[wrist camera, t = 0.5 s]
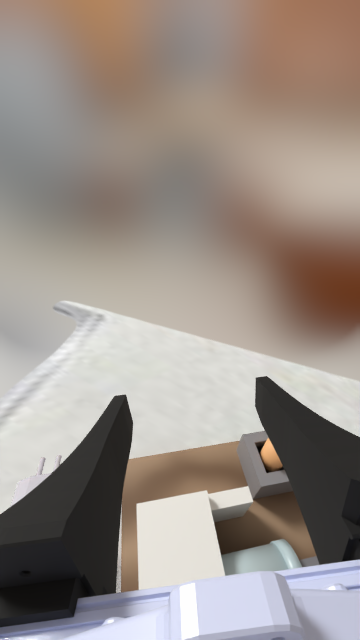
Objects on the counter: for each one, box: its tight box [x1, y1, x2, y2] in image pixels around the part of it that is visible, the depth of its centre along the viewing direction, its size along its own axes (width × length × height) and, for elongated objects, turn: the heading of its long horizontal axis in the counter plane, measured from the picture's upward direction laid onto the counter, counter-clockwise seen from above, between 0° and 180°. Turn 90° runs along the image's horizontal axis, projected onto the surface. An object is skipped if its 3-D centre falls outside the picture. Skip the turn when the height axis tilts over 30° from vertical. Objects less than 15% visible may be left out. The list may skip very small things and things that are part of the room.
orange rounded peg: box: [259, 438, 283, 473], centre depth 26 cm, size 2×2×4 cm
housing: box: [136, 431, 293, 590], centre depth 21 cm, size 17×16×6 cm
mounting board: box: [121, 441, 316, 592], centre depth 22 cm, size 22×22×1 cm
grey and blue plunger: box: [221, 539, 319, 576], centre depth 19 cm, size 5×17×7 cm, turn 99°
